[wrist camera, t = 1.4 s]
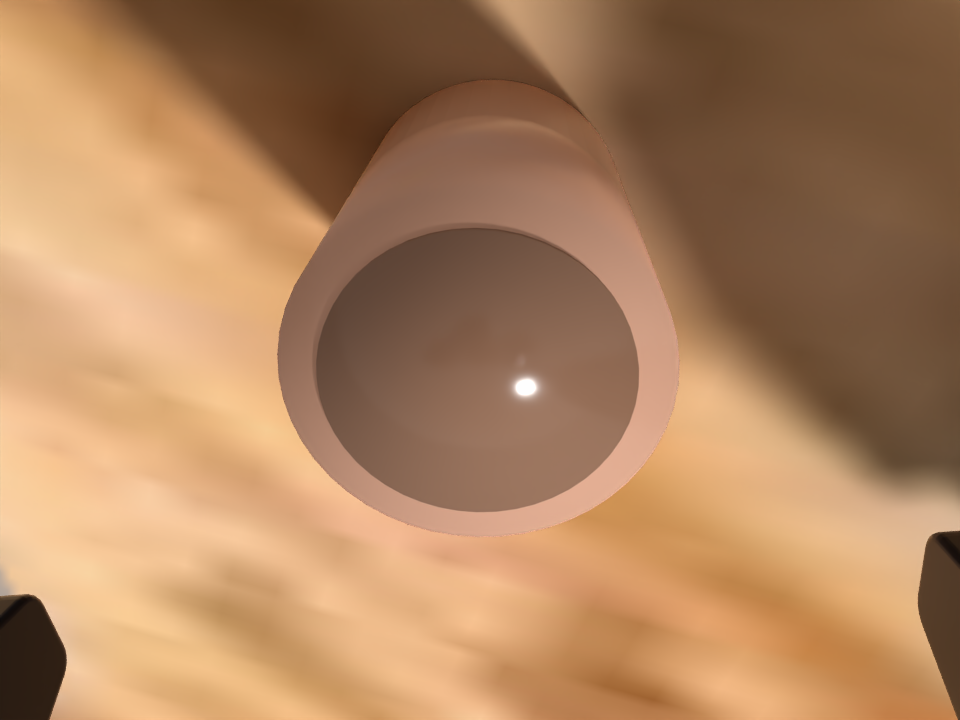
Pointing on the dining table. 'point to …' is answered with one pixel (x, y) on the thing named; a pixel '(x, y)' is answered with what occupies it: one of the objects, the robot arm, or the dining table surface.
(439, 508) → the terracotta cup
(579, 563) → the dining table surface
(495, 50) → the dining table surface
